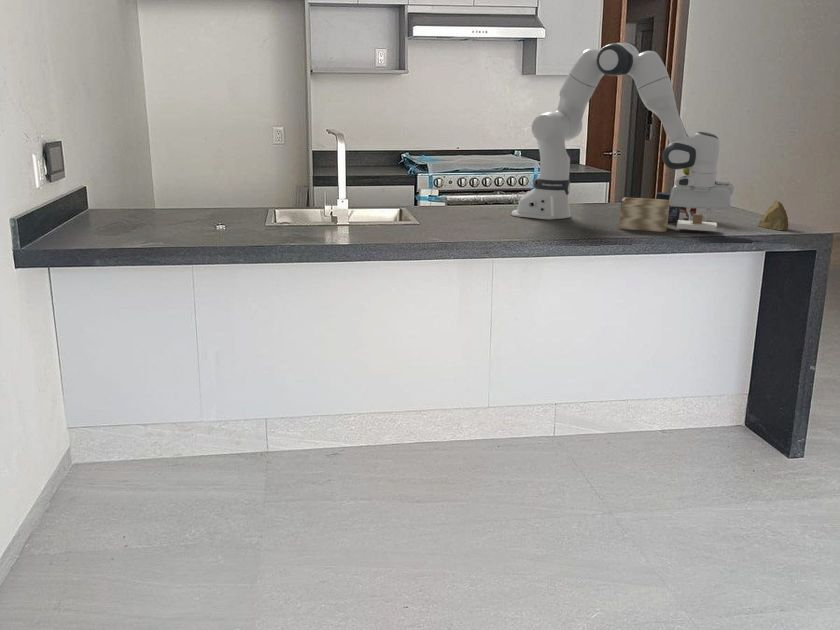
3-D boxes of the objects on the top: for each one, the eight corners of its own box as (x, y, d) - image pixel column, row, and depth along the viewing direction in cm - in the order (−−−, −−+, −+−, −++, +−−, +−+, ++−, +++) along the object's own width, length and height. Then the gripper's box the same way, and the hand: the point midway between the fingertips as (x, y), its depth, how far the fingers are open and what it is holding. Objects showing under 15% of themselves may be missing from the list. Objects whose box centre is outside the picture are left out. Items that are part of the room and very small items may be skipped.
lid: (676, 228, 276) (678, 215, 274) (677, 224, 283) (678, 211, 282) (716, 231, 272) (718, 217, 270) (716, 227, 279) (717, 214, 278)
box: (665, 223, 295) (668, 194, 292) (653, 220, 299) (656, 192, 296) (679, 221, 299) (682, 193, 296) (667, 219, 303) (670, 191, 300)
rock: (797, 225, 280) (790, 217, 289) (785, 206, 278) (778, 198, 287) (768, 242, 284) (762, 233, 293) (756, 223, 282) (750, 215, 291)
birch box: (618, 228, 281) (621, 200, 279) (621, 224, 290) (624, 197, 288) (665, 231, 276) (668, 203, 274) (667, 227, 285) (670, 200, 283)
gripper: (734, 181, 272) (728, 221, 276) (671, 178, 279) (667, 217, 283) (734, 183, 267) (729, 224, 271) (671, 180, 273) (666, 220, 277)
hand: (697, 220), depth 277 cm, fingers open, 3 cm apart
